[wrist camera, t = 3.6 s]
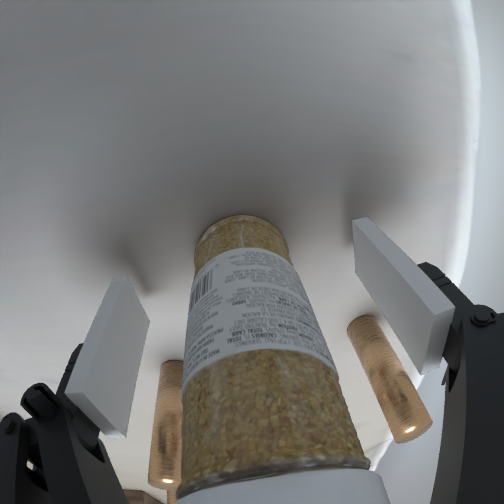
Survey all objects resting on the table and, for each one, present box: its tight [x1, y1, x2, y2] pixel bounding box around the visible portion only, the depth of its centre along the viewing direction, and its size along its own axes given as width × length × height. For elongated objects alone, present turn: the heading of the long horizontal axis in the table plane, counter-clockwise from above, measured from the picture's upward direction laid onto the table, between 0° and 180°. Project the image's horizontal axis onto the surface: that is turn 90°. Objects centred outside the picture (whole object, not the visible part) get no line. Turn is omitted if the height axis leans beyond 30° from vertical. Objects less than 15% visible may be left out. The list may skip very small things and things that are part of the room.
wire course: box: [148, 315, 433, 504], centre depth 19 cm, size 23×16×8 cm
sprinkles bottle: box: [174, 215, 390, 504], centre depth 9 cm, size 5×5×13 cm
